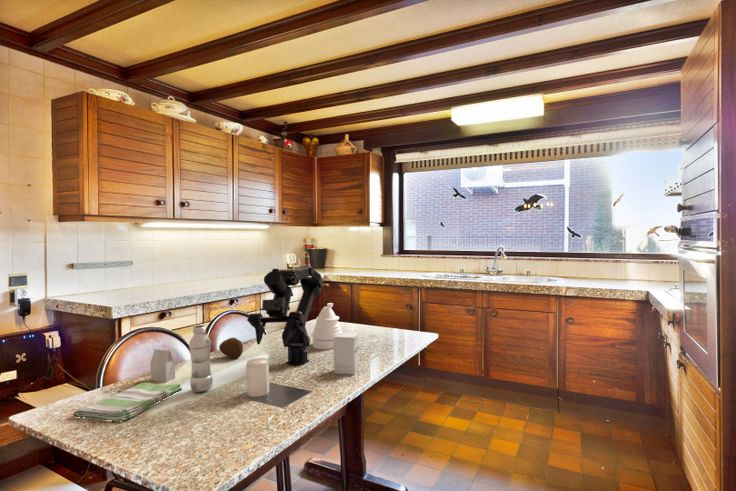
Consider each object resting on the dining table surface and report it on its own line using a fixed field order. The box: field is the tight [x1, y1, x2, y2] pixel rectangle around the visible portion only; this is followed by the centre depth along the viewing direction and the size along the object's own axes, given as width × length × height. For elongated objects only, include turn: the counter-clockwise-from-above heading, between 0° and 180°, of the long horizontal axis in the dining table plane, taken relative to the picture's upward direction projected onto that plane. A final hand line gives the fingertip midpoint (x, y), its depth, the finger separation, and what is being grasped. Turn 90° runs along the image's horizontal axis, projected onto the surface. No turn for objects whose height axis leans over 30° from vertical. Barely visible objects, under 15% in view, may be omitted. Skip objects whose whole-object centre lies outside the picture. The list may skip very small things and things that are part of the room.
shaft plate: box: [235, 381, 313, 409], centre depth 121 cm, size 18×13×4 cm
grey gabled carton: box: [149, 348, 176, 383], centre depth 138 cm, size 4×7×10 cm, turn 69°
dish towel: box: [72, 382, 183, 423], centre depth 119 cm, size 17×23×4 cm
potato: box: [218, 337, 244, 359], centre depth 162 cm, size 7×10×8 cm
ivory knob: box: [245, 357, 270, 397], centre depth 122 cm, size 6×6×10 cm
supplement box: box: [333, 332, 360, 375], centre depth 142 cm, size 7×7×13 cm
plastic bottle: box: [188, 324, 214, 393], centre depth 127 cm, size 6×7×20 cm
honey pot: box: [312, 302, 343, 350], centre depth 176 cm, size 13×13×18 cm
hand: (271, 343), depth 131 cm, fingers open, 9 cm apart
